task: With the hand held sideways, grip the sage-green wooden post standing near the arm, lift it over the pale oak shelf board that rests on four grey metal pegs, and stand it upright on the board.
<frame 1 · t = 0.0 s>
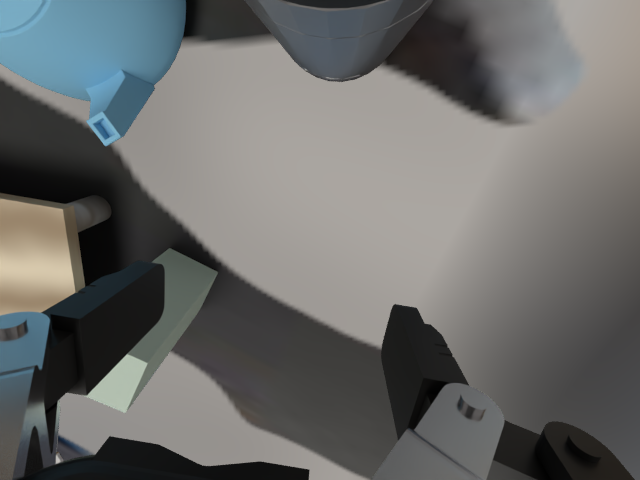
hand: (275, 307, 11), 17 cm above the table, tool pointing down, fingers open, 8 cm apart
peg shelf: (23, 252, 31), on the table
teapot: (105, 2, 23), on the table
sage post: (185, 280, 31), on the table
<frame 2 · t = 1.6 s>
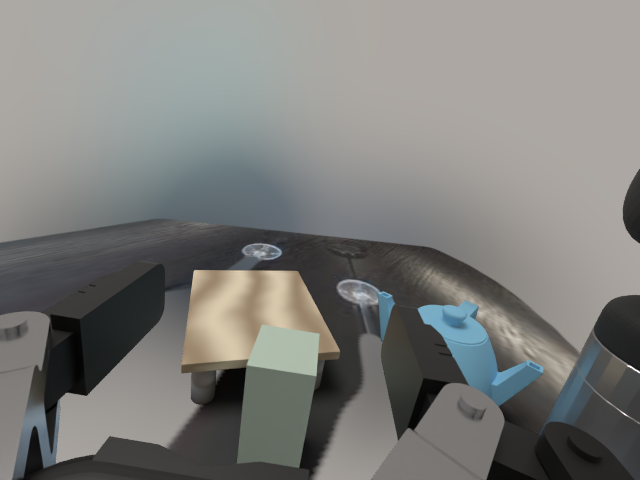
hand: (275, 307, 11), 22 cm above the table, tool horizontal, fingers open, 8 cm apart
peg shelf: (252, 343, 43), on the table
teapot: (430, 382, 41), on the table
sage post: (270, 457, 28), on the table
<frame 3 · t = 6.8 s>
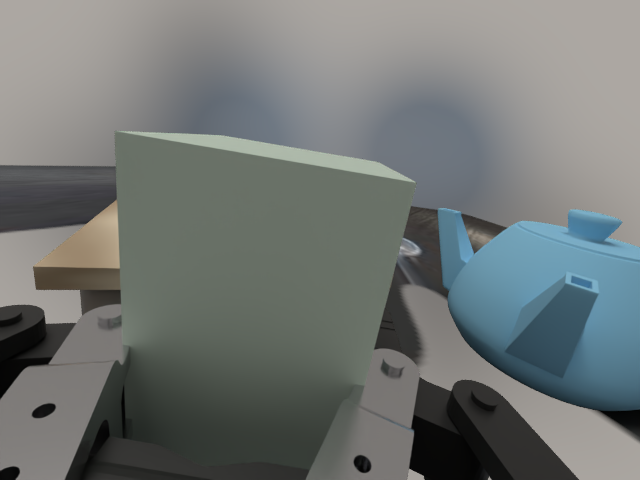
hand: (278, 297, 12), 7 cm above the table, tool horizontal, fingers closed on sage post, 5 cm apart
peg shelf: (229, 285, 25), on the table
teapot: (533, 352, 24), on the table
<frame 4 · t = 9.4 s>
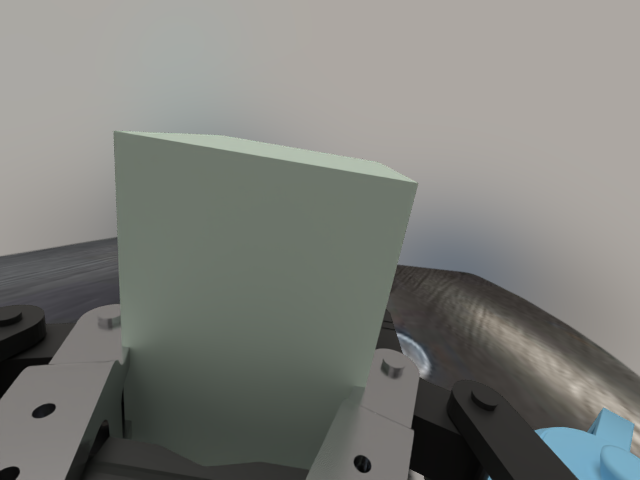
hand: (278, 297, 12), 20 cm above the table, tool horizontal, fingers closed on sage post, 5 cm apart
when the fingers open (14 cm above the table, at t = 12.3 s): sage post drops 1 cm, resting on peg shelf.
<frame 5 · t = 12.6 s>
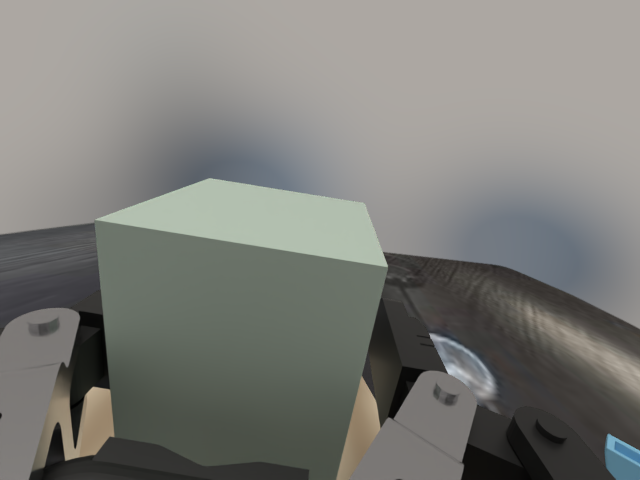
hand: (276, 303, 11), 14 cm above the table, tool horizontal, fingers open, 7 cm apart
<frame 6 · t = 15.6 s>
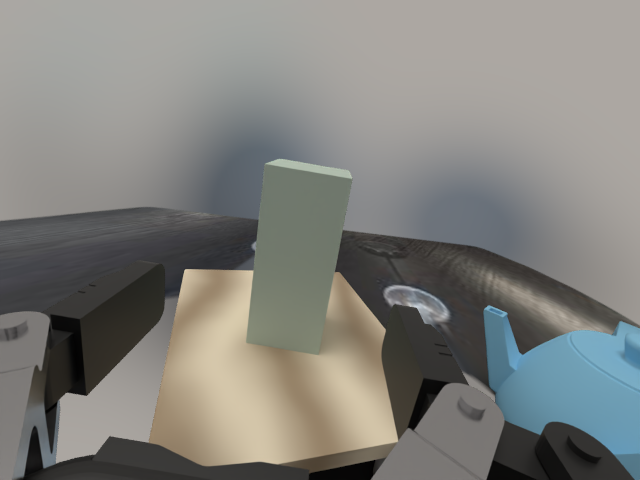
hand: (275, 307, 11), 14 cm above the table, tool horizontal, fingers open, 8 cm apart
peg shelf: (278, 390, 26), on the table
teapot: (584, 464, 24), on the table
sage post: (287, 327, 24), point 6 cm above the table, touching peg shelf
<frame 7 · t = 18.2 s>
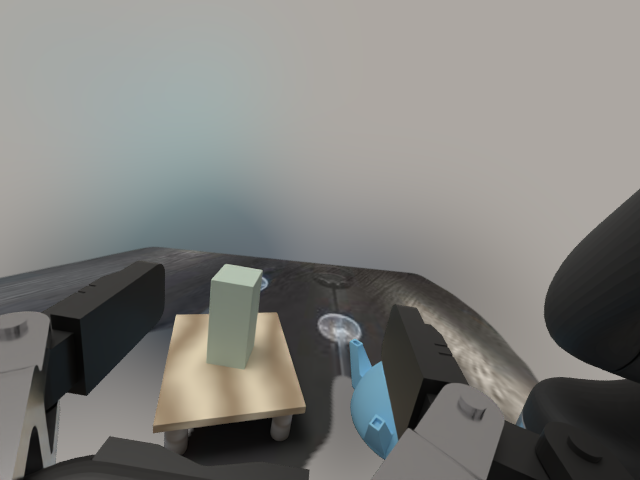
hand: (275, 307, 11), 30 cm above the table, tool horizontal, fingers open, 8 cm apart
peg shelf: (228, 388, 45), on the table
teapot: (396, 429, 43), on the table
sage post: (231, 353, 43), point 6 cm above the table, touching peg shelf
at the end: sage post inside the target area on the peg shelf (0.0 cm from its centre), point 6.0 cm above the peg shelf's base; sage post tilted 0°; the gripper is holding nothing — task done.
